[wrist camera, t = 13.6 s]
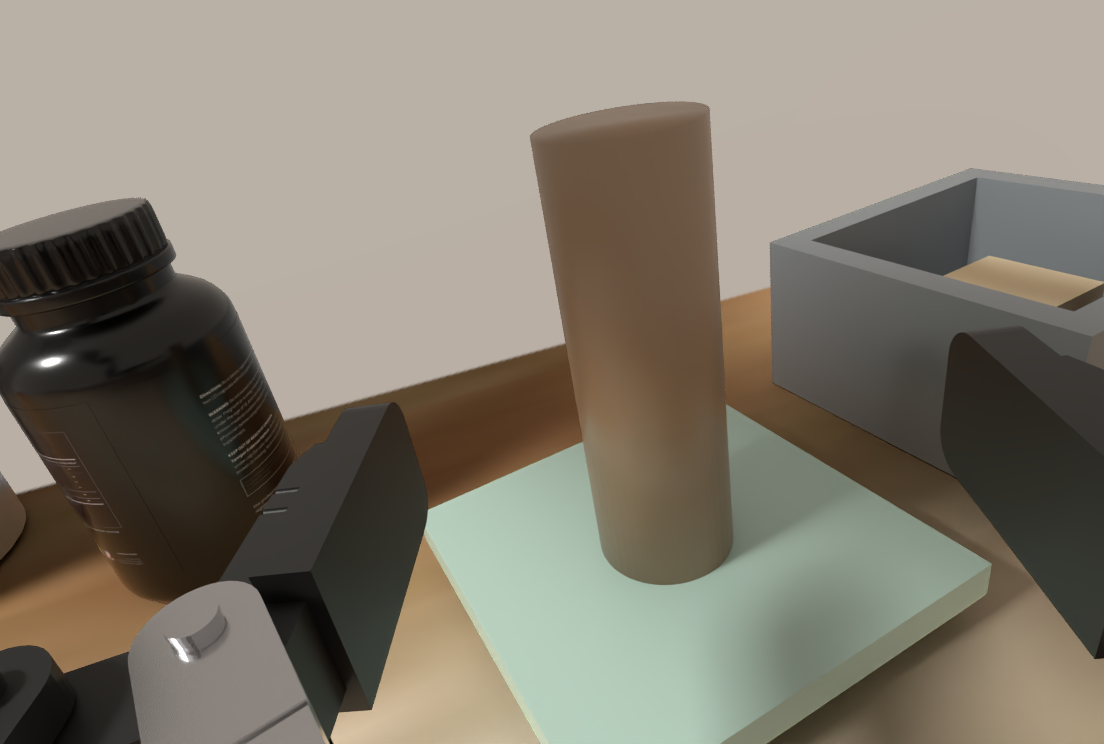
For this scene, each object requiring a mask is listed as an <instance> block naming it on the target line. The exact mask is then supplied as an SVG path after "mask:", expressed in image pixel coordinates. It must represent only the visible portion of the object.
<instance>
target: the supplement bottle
mask: <svg viewBox="0 0 1104 744" xmlns="http://www.w3.org/2000/svg"><path fill="white" fill-rule="evenodd" d="M175 257H176V253H175V251H174V248H173V246H172V244H171V242H170V240H168V239H166V237H165V234H164V232H163V230H162V228H161V225H160V223H159V221H158V219H157V217H156V214H155V212H154V210H153V208H152V206H151V204H150V203H149V202H148V200H146V199H141V198H128V199H119V200H112V201H106V202H101V203H96V204H92V205H87V206H83V207H79V208H75V209H71V210H67V211H63V212H59V213H56V214H52V215H49V216H45V217H42V218H39V219H35V220H33V221H29V222H26V223H23V224H20V225H17V226H15V227H11V228H9V229H6V230H3V231H1V232H0V316H7V317H11V319H12V321H13V322H14V324H15V325H16V327H15V329H14V330H13V331H12V332H11V334H10V335H9V336H8V337H7V339H6V340H5V341H4V342H3V344H2V346H1V347H0V395H1V397H2V398H3V400H4V402H5V404H6V405H7V407H8V409H9V410H10V412H11V413H12V415H13V416H14V418H15V419H16V421H17V423H18V424H19V426H20V427H21V429H22V430H23V432H24V433H25V435H26V436H27V438H28V440H29V441H30V442H31V444H32V446H33V447H34V449H35V450H36V452H37V453H38V455H39V456H40V458H41V460H42V461H43V463H44V464H45V466H46V467H47V469H48V470H49V472H50V473H51V475H52V476H53V478H54V480H55V481H56V483H57V484H58V486H59V487H60V489H61V490H62V492H63V493H64V495H65V496H66V498H67V500H68V501H69V503H70V504H71V506H72V507H73V509H74V510H75V512H76V513H77V515H78V516H79V518H80V520H81V521H82V523H83V524H84V526H85V527H86V529H87V530H88V532H89V533H90V535H91V536H92V538H93V540H94V541H95V543H96V544H97V546H98V547H99V549H100V550H101V552H102V553H103V555H104V556H105V558H106V560H107V561H108V563H109V564H110V565H111V567H112V568H113V570H114V571H115V573H116V574H117V576H118V577H119V579H120V580H121V581H122V583H123V584H124V585H125V586H126V587H127V588H128V589H129V590H130V591H131V592H133V593H134V594H135V595H137V596H139V597H141V598H144V599H147V600H151V601H156V602H162V603H171V602H172V601H174V600H175V599H177V598H179V597H181V596H182V595H184V594H186V593H188V592H190V591H193V590H195V589H197V588H200V587H203V586H206V585H209V584H213V583H217V582H219V580H220V578H221V577H222V575H223V574H224V572H225V570H226V569H227V567H228V565H229V564H230V562H231V561H232V559H233V557H234V556H235V554H236V552H237V551H238V549H239V548H240V546H241V544H242V543H243V541H244V539H245V538H246V536H247V535H248V533H249V531H250V530H251V528H252V526H253V525H254V523H255V522H256V520H257V518H258V517H259V515H263V509H264V507H265V505H266V504H267V502H268V500H269V499H270V497H271V496H272V495H273V494H275V489H276V487H277V486H278V484H279V483H280V481H281V479H282V478H283V476H284V474H285V473H286V471H287V470H288V468H289V466H290V465H291V464H293V463H294V462H295V461H296V460H297V459H298V458H300V457H299V454H298V452H297V450H296V447H295V445H294V443H293V441H292V438H291V436H290V434H289V431H288V429H287V427H286V424H285V422H284V420H283V418H282V415H281V413H280V411H279V408H278V406H277V404H276V401H275V399H274V397H273V395H272V392H271V390H270V387H269V385H268V383H267V381H266V379H265V376H264V374H263V371H262V369H261V367H260V364H259V362H258V360H257V358H256V355H255V354H254V350H253V348H252V346H251V344H250V341H249V339H248V337H247V334H246V332H245V330H244V328H243V325H242V323H241V321H240V318H239V316H238V314H237V312H236V310H235V308H234V306H233V304H232V302H231V300H230V299H229V297H228V296H227V295H226V294H225V293H224V292H223V291H222V290H221V289H219V288H218V287H216V286H215V285H214V284H212V283H210V282H208V281H206V280H204V279H201V278H198V277H194V276H190V275H184V274H179V273H175V272H174V270H173V267H172V265H171V262H172V261H173V260H174V259H175Z"/></svg>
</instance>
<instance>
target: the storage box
mask: <svg viewBox="0 0 1104 744" xmlns="http://www.w3.org/2000/svg"><path fill="white" fill-rule="evenodd" d="M987 256H993V257H997V258H1002V259H1006V260H1010V261H1015V262H1019V263H1024V264H1028V265H1032V266H1037V267H1041V268H1045V269H1050V270H1054V271H1058V272H1063V273H1067V274H1071V275H1076V276H1080V277H1084V278H1089V279H1093V280H1097V281H1102V282H1104V185H1097V184H1090V183H1081V182H1074V181H1066V180H1058V179H1051V178H1043V177H1035V176H1028V175H1020V174H1012V173H1004V172H996V171H989V170H988V171H987V170H981V169H973V168H970V169H968V170H965V171H962V172H959V173H957V174H954V175H951V176H949V177H946V178H943V179H940V180H938V181H935V182H932V183H930V184H927V185H924V186H922V187H919V188H916V189H913V190H911V191H908V192H905V193H903V194H900V195H897V196H894V197H892V198H889V199H886V200H884V201H881V202H878V203H875V204H873V205H870V206H868V207H865V208H862V209H859V210H857V211H854V212H851V213H849V214H846V215H843V216H840V217H838V218H835V219H832V220H830V221H827V222H824V223H821V224H819V225H816V226H813V227H811V228H808V229H805V230H803V231H800V232H797V233H795V234H792V235H789V236H786V237H784V238H781V239H778V240H775V241H773V242H770V273H771V274H770V276H771V332H772V382H773V383H774V384H776V385H778V386H780V387H782V388H784V389H786V390H788V391H790V392H792V393H794V394H796V395H798V396H800V397H801V398H803V399H805V400H807V401H809V402H811V403H813V404H815V405H817V406H819V407H821V408H823V409H825V410H827V411H828V412H830V413H832V414H834V415H836V416H838V417H840V418H842V419H844V420H846V421H848V422H850V423H852V424H854V425H855V426H857V427H859V428H861V429H863V430H865V431H867V432H869V433H871V434H873V435H875V436H877V437H879V438H881V439H882V440H884V441H886V442H888V443H890V444H892V445H894V446H896V447H898V448H900V449H902V450H904V451H906V452H908V453H909V454H911V455H913V456H915V457H917V458H919V459H921V460H923V461H925V462H927V463H929V464H931V465H933V466H935V467H936V468H938V469H940V470H942V471H944V472H946V473H948V474H950V475H952V476H954V477H956V476H955V475H954V474H953V472H952V471H951V469H950V468H949V466H948V464H947V461H946V459H945V456H944V453H943V449H942V444H941V437H940V426H941V416H942V408H943V399H944V390H945V381H946V372H947V363H948V354H949V347H950V344H951V341H952V339H953V337H954V336H955V335H956V334H957V333H960V332H967V331H975V330H983V329H991V328H999V327H1007V326H1014V325H1019V326H1022V327H1024V328H1025V329H1027V330H1028V331H1029V332H1031V333H1032V334H1033V335H1034V336H1036V337H1037V338H1038V339H1040V340H1041V341H1042V342H1044V343H1045V344H1046V345H1047V346H1049V347H1050V348H1051V349H1053V350H1054V351H1055V352H1057V353H1058V354H1059V355H1060V356H1063V355H1068V356H1071V357H1073V358H1076V359H1078V360H1081V361H1083V362H1086V363H1088V364H1091V365H1093V366H1096V367H1099V368H1101V369H1104V291H1103V296H1102V298H1100V299H1098V300H1096V301H1094V302H1092V303H1090V304H1088V305H1086V306H1084V307H1082V308H1080V309H1078V310H1076V311H1070V310H1066V309H1063V308H1059V307H1055V306H1052V305H1048V304H1044V303H1040V302H1037V301H1033V300H1029V299H1026V298H1022V297H1018V296H1015V295H1011V294H1007V293H1003V292H1000V291H996V290H992V289H989V288H985V287H981V286H978V285H974V284H970V283H966V282H963V281H959V280H955V279H952V278H948V277H944V275H946V274H949V273H951V272H953V271H955V270H958V269H960V268H962V267H965V266H967V265H969V264H971V263H974V262H976V261H978V260H981V259H983V258H985V257H987Z"/></svg>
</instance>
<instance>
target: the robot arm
mask: <svg viewBox="0 0 1104 744" xmlns="http://www.w3.org/2000/svg"><path fill="white" fill-rule="evenodd" d="M940 437H941V444H942V449H943V453H944V456H945V459H946V461H947V464H948V466H949V468H950V469H951V471H952V472H953V474H954V475H955V476H956V478H957V479H958V480H959V482H960V483H961V484H962V486H963V487H964V488H965V489H966V491H967V492H968V493H969V495H970V496H971V497H972V499H973V500H974V501H975V503H976V504H977V505H978V507H979V508H980V509H981V510H982V512H983V513H984V514H985V516H986V517H987V518H988V520H989V521H990V522H991V524H992V525H993V526H994V528H995V529H996V530H997V531H998V533H999V534H1000V535H1001V537H1002V538H1003V539H1004V541H1005V542H1006V543H1007V545H1008V546H1009V547H1010V549H1011V550H1012V551H1013V552H1014V554H1015V555H1016V556H1017V558H1018V559H1019V560H1020V562H1021V563H1022V564H1023V566H1024V567H1025V568H1026V570H1027V571H1028V572H1029V573H1030V575H1031V576H1032V577H1033V579H1034V580H1035V581H1036V583H1037V584H1038V585H1039V587H1040V588H1041V589H1042V591H1043V592H1044V593H1045V595H1046V596H1047V597H1048V598H1049V600H1050V601H1051V602H1052V604H1053V605H1054V606H1055V608H1056V609H1057V610H1058V612H1059V613H1060V614H1061V616H1062V617H1063V618H1064V619H1065V621H1066V622H1067V623H1068V625H1069V626H1070V627H1071V629H1072V630H1073V631H1074V633H1075V634H1076V635H1077V637H1078V638H1079V639H1080V640H1081V642H1082V643H1083V644H1084V646H1085V647H1086V648H1087V650H1088V651H1089V652H1090V654H1091V655H1092V656H1093V658H1094V659H1101V658H1104V369H1101V368H1099V367H1096V366H1093V365H1091V364H1088V363H1086V362H1083V361H1081V360H1078V359H1076V358H1073V357H1071V356H1068V355H1063V356H1060V355H1059V354H1058V353H1057V352H1055V351H1054V350H1053V349H1051V348H1050V347H1049V346H1047V345H1046V344H1045V343H1044V342H1042V341H1041V340H1040V339H1038V338H1037V337H1036V336H1034V335H1033V334H1032V333H1031V332H1029V331H1028V330H1027V329H1025V328H1024V327H1022V326H1019V325H1014V326H1007V327H999V328H991V329H983V330H975V331H967V332H960V333H957V334H956V335H955V336H954V337H953V339H952V341H951V344H950V347H949V354H948V363H947V372H946V381H945V390H944V399H943V408H942V416H941V426H940ZM427 515H428V500H427V492H426V487H425V483H424V479H423V476H422V473H421V470H420V467H419V463H418V460H417V457H416V454H415V451H414V447H413V444H412V441H411V438H410V435H409V431H408V428H407V425H406V422H405V419H404V416H403V413H402V411H401V409H400V407H399V406H398V405H397V404H396V403H393V402H392V403H384V404H376V405H368V406H360V407H352V408H346V409H345V410H344V411H343V412H342V414H341V415H340V417H339V419H338V421H337V422H336V424H335V426H334V428H333V429H332V431H331V433H330V435H329V436H328V438H327V440H326V442H325V443H320V444H315V445H314V446H312V447H311V448H310V449H309V450H308V451H307V452H305V453H304V454H303V455H302V456H301V457H300V458H298V459H297V460H296V461H295V462H294V463H293V464H291V465H290V466H289V468H288V470H287V471H286V473H285V474H284V476H283V478H282V479H281V481H280V483H279V484H278V486H277V487H276V489H275V494H273V495H272V496H271V497H270V499H269V500H268V502H267V504H266V505H265V507H264V509H263V515H259V517H258V518H257V520H256V522H255V523H254V525H253V526H252V528H251V530H250V531H249V533H248V535H247V536H246V538H245V539H244V541H243V543H242V544H241V546H240V548H239V549H238V551H237V552H236V554H235V556H234V557H233V559H232V561H231V562H230V564H229V565H228V567H227V569H226V570H225V572H224V574H223V575H222V577H221V578H220V580H219V582H217V583H213V584H209V585H206V586H203V587H200V588H197V589H195V590H193V591H190V592H188V593H186V594H184V595H182V596H181V597H179V598H177V599H175V600H174V601H172V602H171V603H169V604H168V605H167V606H165V607H164V608H163V609H161V610H160V611H159V612H158V613H156V614H155V615H154V616H153V617H152V618H151V619H150V620H149V621H148V622H147V623H146V624H145V626H144V627H143V628H142V629H141V630H140V632H139V633H138V635H137V636H136V638H135V639H134V641H133V643H132V646H131V648H130V651H129V652H126V653H123V654H120V655H117V656H114V657H111V658H108V659H105V660H103V661H100V662H97V663H94V664H91V665H88V666H85V667H82V668H79V669H76V670H73V671H70V672H67V673H63V672H62V671H61V669H60V668H59V666H58V665H57V664H56V662H55V661H54V660H53V658H52V657H51V655H50V654H49V653H48V652H47V651H46V650H45V649H43V648H41V647H38V646H30V645H27V646H17V647H12V648H8V649H5V650H2V651H0V744H334V743H333V740H332V738H331V733H332V730H333V727H334V725H335V722H336V719H337V716H338V713H339V712H350V711H364V710H372V707H373V704H374V700H375V697H376V693H377V690H378V687H379V683H380V680H381V676H382V673H383V670H384V666H385V663H386V659H387V656H388V653H389V649H390V646H391V642H392V639H393V636H394V632H395V629H396V625H397V622H398V619H399V615H400V612H401V608H402V605H403V602H404V598H405V595H406V591H407V588H408V585H409V581H410V578H411V574H412V571H413V568H414V564H415V561H416V557H417V554H418V551H419V547H420V544H421V540H422V537H423V534H424V530H425V527H426V523H427ZM25 521H26V513H25V508H24V507H23V505H22V504H21V502H20V501H19V499H18V498H17V496H16V494H15V493H14V491H13V490H12V489H11V487H10V485H9V484H8V482H7V481H6V479H5V478H4V477H3V475H2V474H1V472H0V560H1V559H2V558H3V557H4V556H5V554H6V553H7V552H8V551H9V550H10V549H11V548H12V547H13V545H14V544H15V542H16V540H17V539H18V537H19V536H20V534H21V533H22V531H23V528H24V525H25Z"/></svg>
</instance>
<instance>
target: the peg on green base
mask: <svg viewBox="0 0 1104 744" xmlns="http://www.w3.org/2000/svg"><path fill="white" fill-rule="evenodd" d="M530 140H531V146H532V151H533V158H534V164H535V169H536V175H537V180H538V187H539V192H540V198H541V204H542V210H543V215H544V221H545V227H546V232H547V238H548V244H549V249H550V255H551V261H552V267H553V273H554V278H555V284H556V290H557V296H558V301H559V307H560V313H561V319H562V324H563V330H564V336H565V342H566V348H567V353H568V359H569V365H570V371H571V376H572V382H573V388H574V394H575V399H576V405H577V411H578V417H579V422H580V428H581V434H582V440H583V442H581V443H578V444H576V445H574V446H572V447H569V448H567V449H565V450H563V451H560V452H558V453H556V454H553V455H551V456H549V457H547V458H544V459H542V460H540V461H538V462H535V463H533V464H531V465H529V466H526V467H524V468H522V469H520V470H517V471H515V472H513V473H510V474H508V475H506V476H504V477H501V478H499V479H497V480H495V481H492V482H490V483H488V484H486V485H483V486H481V487H479V488H477V489H474V490H472V491H470V492H467V493H465V494H463V495H461V496H458V497H456V498H454V499H452V500H449V501H447V502H445V503H443V504H440V505H438V506H436V507H434V508H431V509H429V510H428V515H427V523H426V527H425V530H424V535H425V539H426V540H427V542H428V544H429V546H430V548H431V549H432V551H433V553H434V555H435V556H436V558H437V560H438V562H439V564H440V565H441V567H442V569H443V571H444V572H445V574H446V576H447V578H448V580H449V581H450V583H451V585H452V587H453V589H454V590H455V592H456V594H457V596H458V597H459V599H460V601H461V603H462V605H463V606H464V608H465V610H466V612H467V613H468V615H469V617H470V619H471V621H472V622H473V624H474V626H475V628H476V630H477V631H478V633H479V635H480V637H481V638H482V640H483V642H484V644H485V646H486V647H487V649H488V651H489V653H490V654H491V656H492V658H493V660H494V662H495V663H496V665H497V667H498V669H499V671H500V672H501V674H502V676H503V678H504V679H505V681H506V683H507V685H508V687H509V688H510V690H511V692H512V694H513V695H514V697H515V699H516V701H517V703H518V704H519V706H520V708H521V710H522V711H523V713H524V715H525V717H526V719H527V720H528V722H529V724H530V726H531V728H532V729H533V731H534V733H535V735H536V736H537V738H538V740H539V742H540V744H767V743H768V742H770V741H771V740H773V739H774V738H776V737H777V736H779V735H780V734H782V733H783V732H785V731H786V730H788V729H789V728H791V727H792V726H794V725H795V724H796V723H798V722H799V721H801V720H802V719H804V718H805V717H807V716H808V715H810V714H811V713H813V712H814V711H816V710H817V709H819V708H820V707H822V706H823V705H824V704H826V703H827V702H829V701H830V700H832V699H833V698H835V697H836V696H838V695H839V694H841V693H842V692H844V691H845V690H847V689H848V688H849V687H851V686H852V685H854V684H855V683H857V682H858V681H860V680H861V679H863V678H864V677H866V676H867V675H869V674H870V673H872V672H873V671H875V670H876V669H877V668H879V667H880V666H882V665H883V664H885V663H886V662H888V661H889V660H891V659H892V658H894V657H895V656H897V655H898V654H900V653H901V652H903V651H904V650H905V649H907V648H908V647H910V646H911V645H913V644H914V643H916V642H917V641H919V640H920V639H922V638H923V637H925V636H926V635H928V634H929V633H931V632H932V631H933V630H935V629H936V628H938V627H939V626H941V625H942V624H944V623H945V622H947V621H948V620H950V619H951V618H953V617H954V616H956V615H957V614H959V613H960V612H961V611H963V610H964V609H966V608H967V607H969V606H970V605H972V604H973V603H975V602H976V601H978V600H979V599H981V598H982V597H984V596H985V595H987V591H988V585H989V579H990V574H991V568H992V564H991V563H990V562H988V561H986V560H985V559H983V558H981V557H980V556H978V555H976V554H975V553H973V552H971V551H970V550H968V549H966V548H965V547H963V546H961V545H960V544H958V543H956V542H955V541H953V540H951V539H950V538H948V537H946V536H945V535H943V534H941V533H940V532H938V531H936V530H935V529H933V528H931V527H930V526H928V525H926V524H925V523H923V522H921V521H920V520H918V519H916V518H915V517H913V516H911V515H910V514H908V513H906V512H905V511H903V510H901V509H900V508H898V507H896V506H895V505H893V504H891V503H890V502H888V501H886V500H885V499H883V498H881V497H880V496H878V495H876V494H875V493H873V492H871V491H870V490H868V489H866V488H865V487H863V486H861V485H860V484H858V483H856V482H855V481H853V480H851V479H850V478H848V477H846V476H845V475H843V474H841V473H840V472H838V471H836V470H835V469H833V468H831V467H830V466H828V465H826V464H825V463H823V462H821V461H820V460H818V459H816V458H815V457H813V456H811V455H810V454H808V453H806V452H805V451H803V450H801V449H800V448H798V447H796V446H795V445H793V444H791V443H790V442H788V441H786V440H785V439H783V438H781V437H780V436H778V435H776V434H775V433H773V432H771V431H770V430H768V429H766V428H765V427H763V426H761V425H760V424H758V423H756V422H755V421H753V420H751V419H750V418H748V417H746V416H745V415H743V414H741V413H740V412H738V411H736V410H735V409H733V408H732V407H730V406H728V405H727V404H726V396H725V378H724V360H723V342H722V324H721V306H720V289H719V272H718V252H717V234H716V218H715V217H716V216H715V199H714V181H713V163H712V145H711V128H710V110H709V107H708V106H707V105H704V104H701V103H695V102H658V103H646V104H638V105H630V106H623V107H616V108H611V109H605V110H600V111H595V112H590V113H586V114H581V115H577V116H573V117H570V118H566V119H563V120H560V121H557V122H554V123H551V124H549V125H546V126H544V127H541V128H539V129H538V130H536V131H534V132H533V133H532V134H531V135H530Z"/></svg>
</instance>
